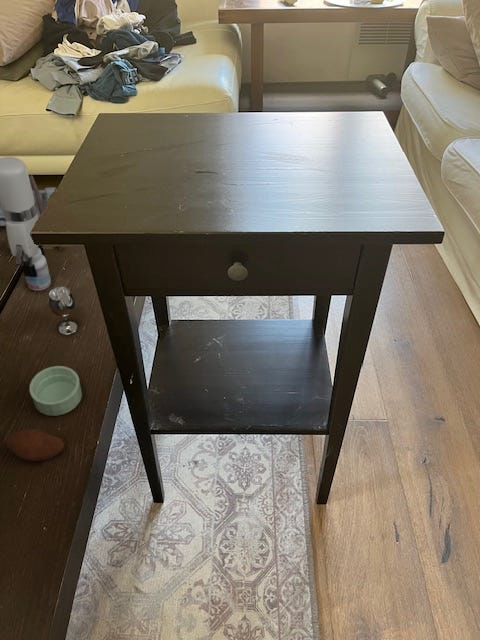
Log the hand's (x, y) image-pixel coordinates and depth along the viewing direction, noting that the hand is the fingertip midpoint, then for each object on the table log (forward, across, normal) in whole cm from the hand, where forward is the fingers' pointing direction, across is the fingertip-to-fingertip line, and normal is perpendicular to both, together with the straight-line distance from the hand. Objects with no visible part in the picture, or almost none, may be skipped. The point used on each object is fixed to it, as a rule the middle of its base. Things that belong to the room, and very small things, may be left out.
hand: (35, 267), depth 131 cm
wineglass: (+6, +15, +12) cm, 20 cm away
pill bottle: (+6, 0, 0) cm, 6 cm away
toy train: (-1, -23, -12) cm, 26 cm away
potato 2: (+6, +50, +16) cm, 52 cm away
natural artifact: (-6, -23, -1) cm, 23 cm away
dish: (+6, +36, +16) cm, 40 cm away
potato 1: (+4, -12, -5) cm, 14 cm away
